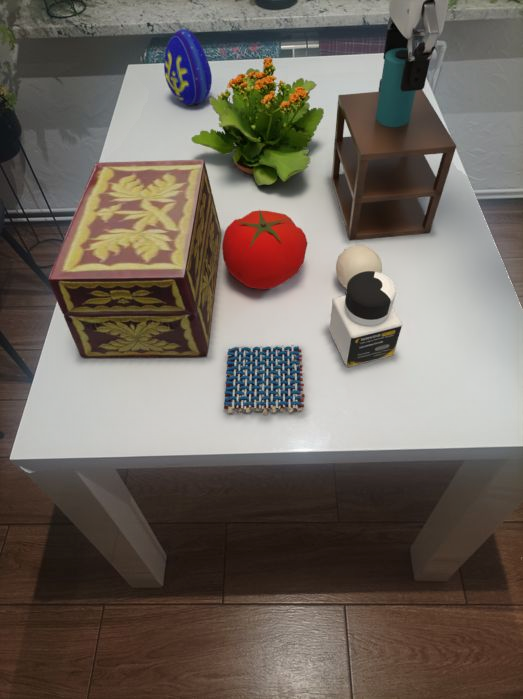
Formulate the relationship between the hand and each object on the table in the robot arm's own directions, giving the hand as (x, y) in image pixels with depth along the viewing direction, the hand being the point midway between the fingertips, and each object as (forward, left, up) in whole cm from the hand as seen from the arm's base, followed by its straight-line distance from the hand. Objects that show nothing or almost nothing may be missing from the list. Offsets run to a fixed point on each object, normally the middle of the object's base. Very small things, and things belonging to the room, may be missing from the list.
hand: (402, 74), depth 68 cm
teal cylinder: (0, 0, -7) cm, 7 cm away
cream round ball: (+8, +19, -23) cm, 31 cm away
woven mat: (+24, +36, -23) cm, 49 cm away
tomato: (+22, +15, -23) cm, 35 cm away
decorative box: (+40, +16, -23) cm, 48 cm away
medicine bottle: (+10, +31, -23) cm, 40 cm away
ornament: (+34, -45, -23) cm, 61 cm away
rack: (0, 0, -23) cm, 23 cm away
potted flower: (+21, -18, -23) cm, 36 cm away
